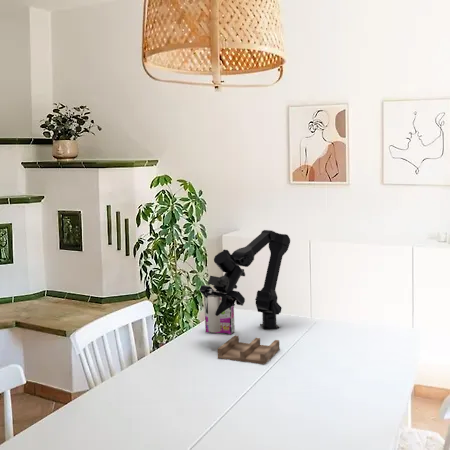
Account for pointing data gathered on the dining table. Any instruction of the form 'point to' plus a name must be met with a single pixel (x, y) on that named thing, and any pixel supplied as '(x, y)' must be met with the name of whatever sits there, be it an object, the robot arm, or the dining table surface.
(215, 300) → the rounded tapered clay block
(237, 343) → the wooden compartment tray
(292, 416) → the dining table surface
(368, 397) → the dining table surface
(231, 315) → the candy bar box
